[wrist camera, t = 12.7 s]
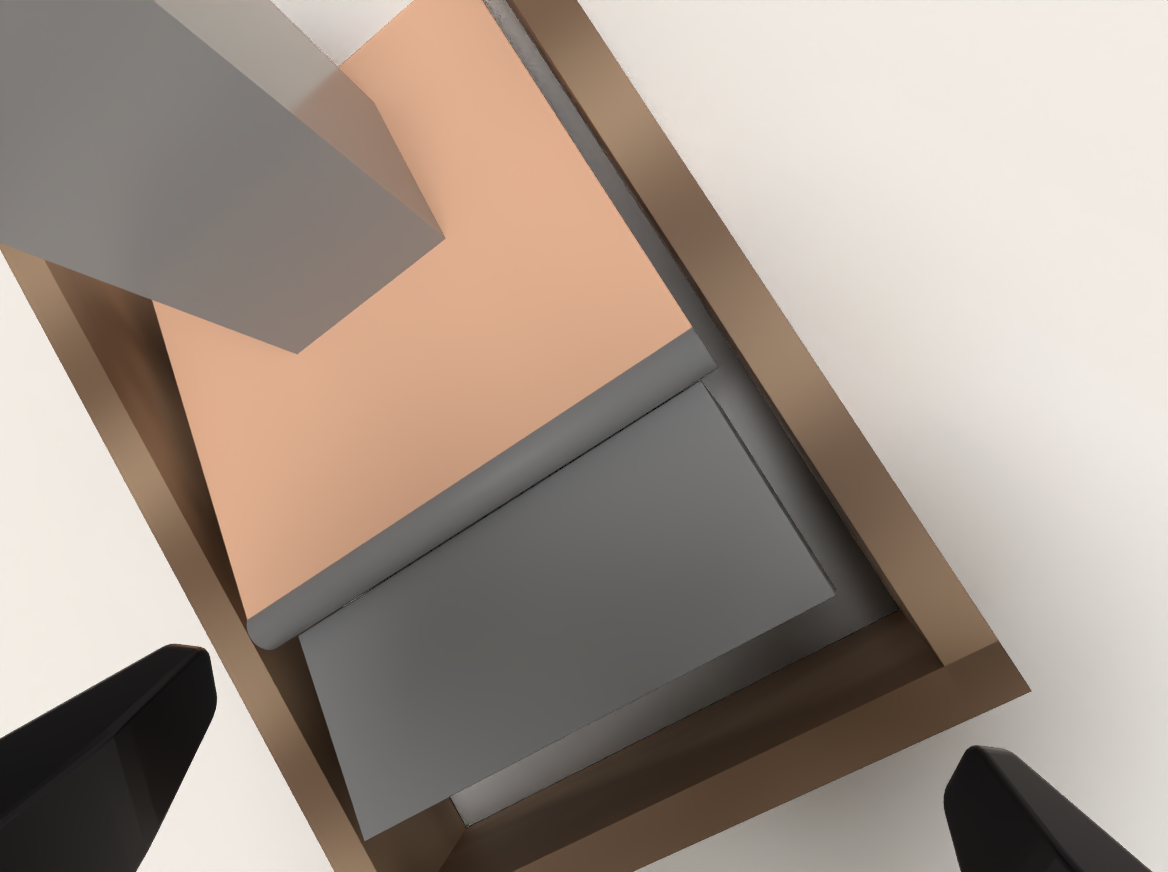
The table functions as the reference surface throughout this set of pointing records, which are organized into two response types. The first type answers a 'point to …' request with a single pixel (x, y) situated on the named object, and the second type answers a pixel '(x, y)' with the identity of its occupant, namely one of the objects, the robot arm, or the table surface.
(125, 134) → the stone block
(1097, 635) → the table surface
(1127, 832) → the table surface
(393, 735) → the flap
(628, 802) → the flap frame
